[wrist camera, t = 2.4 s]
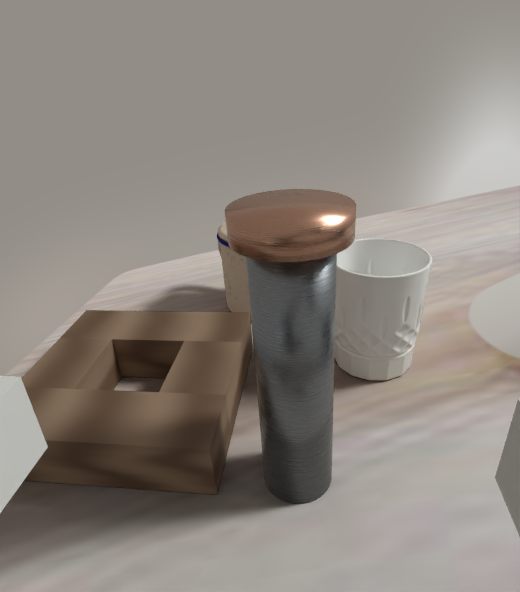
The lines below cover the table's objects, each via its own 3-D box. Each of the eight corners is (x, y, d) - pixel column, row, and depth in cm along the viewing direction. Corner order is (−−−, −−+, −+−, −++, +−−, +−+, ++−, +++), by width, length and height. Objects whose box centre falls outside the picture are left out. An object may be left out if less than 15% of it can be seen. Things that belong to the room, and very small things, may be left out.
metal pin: (342, 440, 31) (352, 187, 22) (346, 519, 25) (361, 226, 17) (258, 436, 31) (237, 190, 23) (245, 511, 26) (211, 229, 18)
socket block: (252, 348, 41) (249, 312, 39) (217, 494, 27) (209, 449, 25) (96, 344, 43) (86, 310, 42) (-11, 477, 30) (-33, 435, 28)
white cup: (437, 361, 38) (454, 256, 33) (373, 399, 34) (383, 287, 29) (369, 325, 44) (376, 231, 39) (309, 354, 40) (308, 254, 35)
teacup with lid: (321, 301, 49) (322, 199, 43) (261, 333, 43) (253, 222, 38) (252, 271, 57) (245, 182, 51) (195, 295, 52) (180, 200, 46)
